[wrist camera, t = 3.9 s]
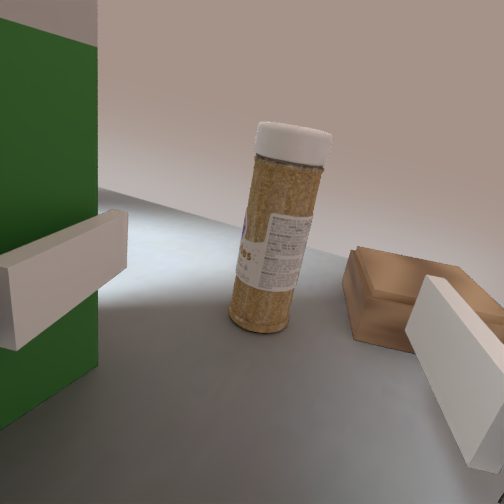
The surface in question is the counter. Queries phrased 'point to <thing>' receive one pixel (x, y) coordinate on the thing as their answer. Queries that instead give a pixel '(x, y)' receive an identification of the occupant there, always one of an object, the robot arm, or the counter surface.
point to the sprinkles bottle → (277, 223)
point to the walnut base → (403, 295)
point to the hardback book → (47, 175)
